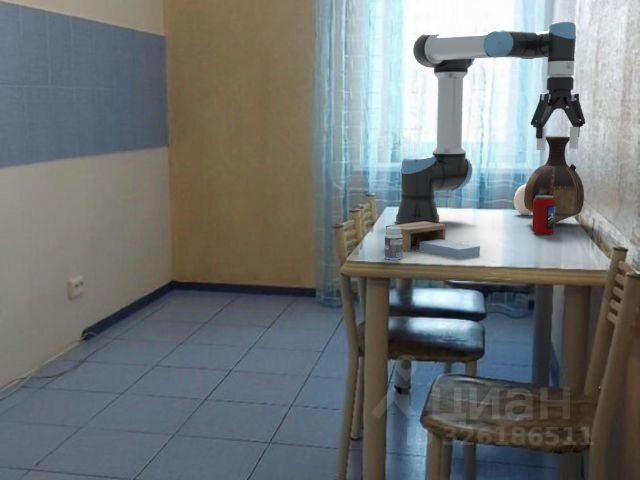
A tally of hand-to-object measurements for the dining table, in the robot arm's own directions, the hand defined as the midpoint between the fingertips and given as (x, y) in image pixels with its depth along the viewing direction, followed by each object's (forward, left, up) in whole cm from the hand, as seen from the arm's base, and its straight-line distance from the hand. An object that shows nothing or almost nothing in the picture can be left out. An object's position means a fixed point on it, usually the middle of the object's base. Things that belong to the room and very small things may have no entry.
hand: (557, 149), depth 227 cm
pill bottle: (-7, -59, -27) cm, 66 cm away
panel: (-3, -42, -27) cm, 50 cm away
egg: (-38, +36, -27) cm, 59 cm away
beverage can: (-7, +5, -27) cm, 29 cm away
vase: (-17, +24, -27) cm, 40 cm away
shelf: (-16, -42, -27) cm, 53 cm away
